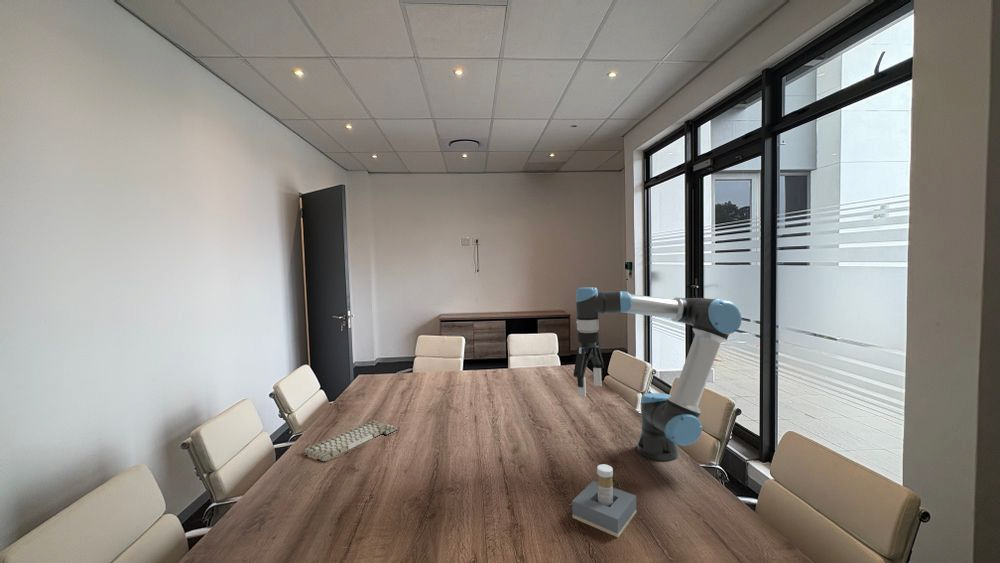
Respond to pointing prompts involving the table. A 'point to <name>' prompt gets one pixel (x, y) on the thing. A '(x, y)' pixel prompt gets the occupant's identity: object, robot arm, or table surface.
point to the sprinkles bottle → (605, 484)
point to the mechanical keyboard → (349, 440)
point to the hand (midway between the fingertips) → (590, 390)
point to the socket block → (604, 509)
